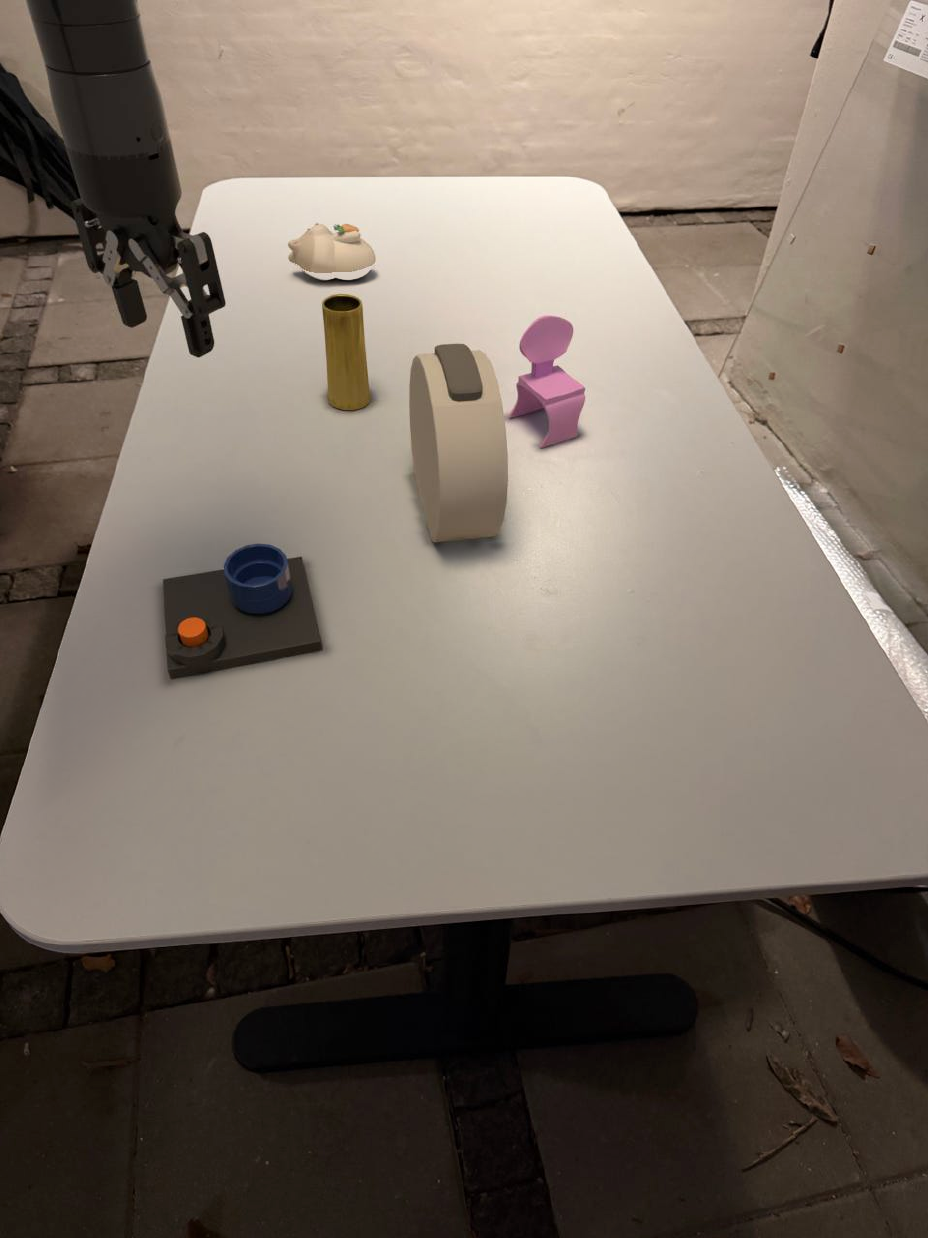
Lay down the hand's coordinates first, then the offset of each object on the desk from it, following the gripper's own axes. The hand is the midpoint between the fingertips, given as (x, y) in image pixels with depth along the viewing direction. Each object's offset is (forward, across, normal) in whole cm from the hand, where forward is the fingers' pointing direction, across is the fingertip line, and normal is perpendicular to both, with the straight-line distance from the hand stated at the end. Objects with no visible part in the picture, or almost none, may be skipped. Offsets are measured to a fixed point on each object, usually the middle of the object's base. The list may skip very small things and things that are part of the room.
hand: (168, 338), depth 70 cm
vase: (+26, -9, +33) cm, 43 cm away
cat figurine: (+26, -36, +62) cm, 76 cm away
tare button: (+24, +9, -12) cm, 28 cm away
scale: (+26, +9, -6) cm, 28 cm away
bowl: (+25, +10, -3) cm, 27 cm away
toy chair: (+26, +17, +44) cm, 54 cm away
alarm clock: (+26, +16, +23) cm, 38 cm away
